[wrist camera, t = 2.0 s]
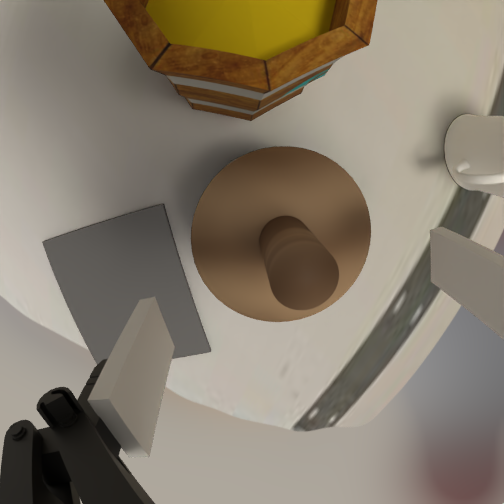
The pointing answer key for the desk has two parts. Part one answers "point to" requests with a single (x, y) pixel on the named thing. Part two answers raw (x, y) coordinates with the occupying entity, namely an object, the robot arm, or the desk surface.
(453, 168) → the mug
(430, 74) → the desk surface
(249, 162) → the lid
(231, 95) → the mug
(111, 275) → the mat
